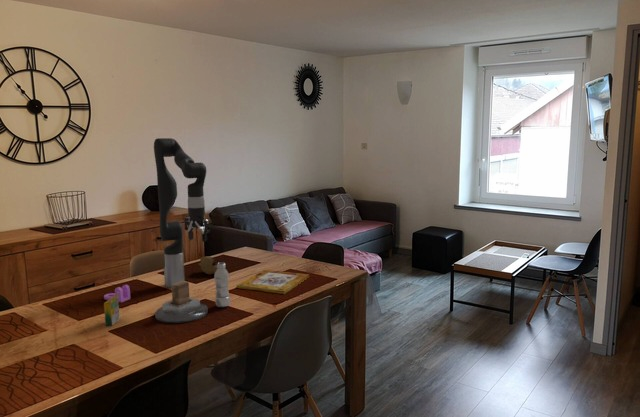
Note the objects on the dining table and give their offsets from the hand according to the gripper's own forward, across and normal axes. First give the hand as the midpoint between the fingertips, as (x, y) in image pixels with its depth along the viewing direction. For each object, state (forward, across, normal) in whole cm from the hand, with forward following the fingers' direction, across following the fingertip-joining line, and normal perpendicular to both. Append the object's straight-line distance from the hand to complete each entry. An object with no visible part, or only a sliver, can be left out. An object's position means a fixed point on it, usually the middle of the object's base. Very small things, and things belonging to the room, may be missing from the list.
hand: (197, 240), depth 230 cm
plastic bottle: (+28, +17, -3) cm, 33 cm away
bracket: (+28, -34, -21) cm, 49 cm away
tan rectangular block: (+27, +8, -19) cm, 34 cm away
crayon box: (+28, -9, -41) cm, 51 cm away
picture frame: (+29, +15, +38) cm, 50 cm away
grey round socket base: (+28, +8, -19) cm, 35 cm away
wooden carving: (+28, -26, +33) cm, 51 cm away
